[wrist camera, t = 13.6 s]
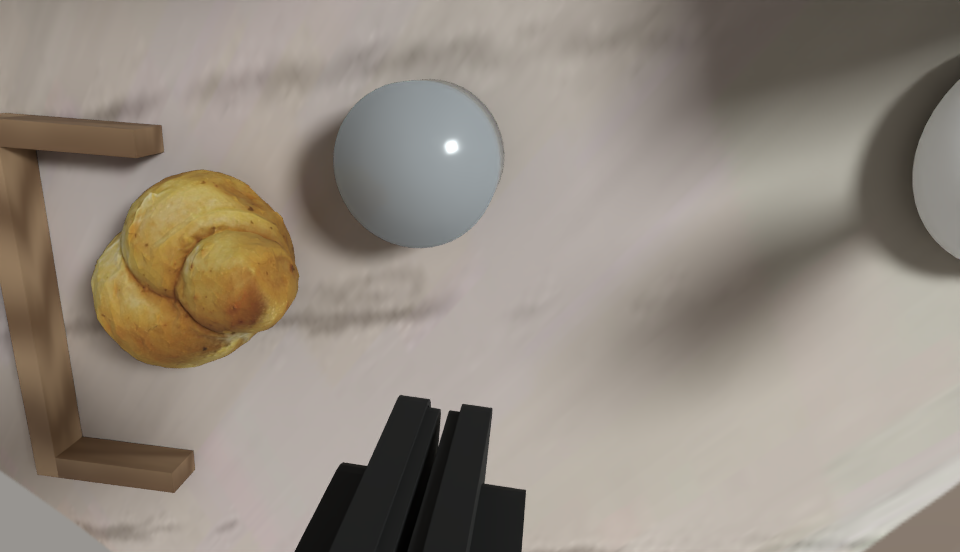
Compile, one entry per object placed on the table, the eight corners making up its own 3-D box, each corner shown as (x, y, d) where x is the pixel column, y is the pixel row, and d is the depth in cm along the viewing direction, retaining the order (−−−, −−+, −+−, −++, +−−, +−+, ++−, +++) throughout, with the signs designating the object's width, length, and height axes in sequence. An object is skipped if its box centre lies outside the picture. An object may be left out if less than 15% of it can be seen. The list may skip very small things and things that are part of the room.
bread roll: (202, 377, 41) (122, 447, 33) (93, 261, 39) (-18, 309, 32) (345, 263, 37) (291, 314, 30) (231, 131, 36) (143, 148, 28)
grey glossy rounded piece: (360, 73, 34) (332, 74, 29) (510, 84, 33) (503, 87, 29) (359, 219, 36) (333, 239, 32) (498, 233, 36) (490, 255, 31)
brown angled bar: (5, 113, 37) (-32, 116, 34) (161, 125, 36) (133, 129, 33) (65, 452, 44) (37, 474, 42) (195, 469, 43) (174, 492, 41)
